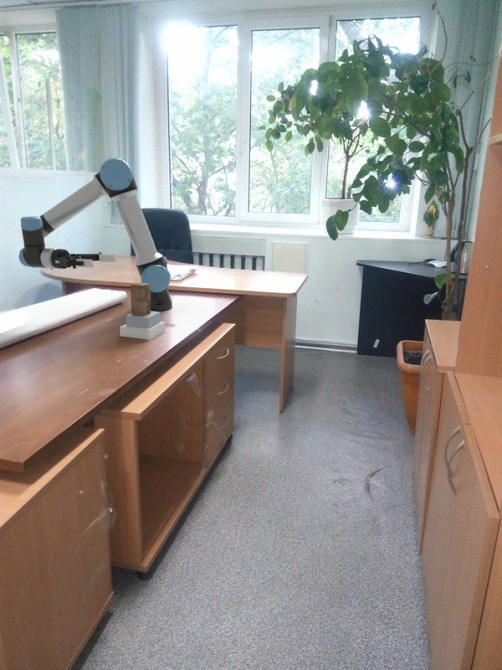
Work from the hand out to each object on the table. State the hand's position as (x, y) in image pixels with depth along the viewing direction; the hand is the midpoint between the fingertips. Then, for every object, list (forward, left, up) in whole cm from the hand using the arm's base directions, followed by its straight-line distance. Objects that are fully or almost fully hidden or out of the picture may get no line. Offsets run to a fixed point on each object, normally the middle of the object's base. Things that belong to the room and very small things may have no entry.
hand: (103, 260), depth 178 cm
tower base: (+2, +17, -26) cm, 31 cm away
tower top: (+2, +17, -22) cm, 28 cm away
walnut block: (+3, +17, -18) cm, 25 cm away
